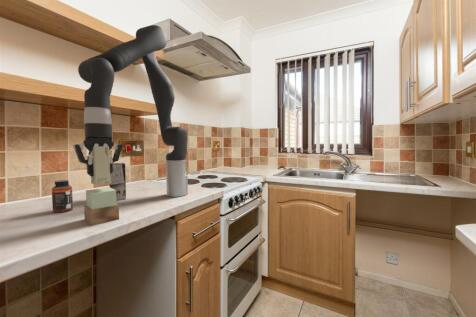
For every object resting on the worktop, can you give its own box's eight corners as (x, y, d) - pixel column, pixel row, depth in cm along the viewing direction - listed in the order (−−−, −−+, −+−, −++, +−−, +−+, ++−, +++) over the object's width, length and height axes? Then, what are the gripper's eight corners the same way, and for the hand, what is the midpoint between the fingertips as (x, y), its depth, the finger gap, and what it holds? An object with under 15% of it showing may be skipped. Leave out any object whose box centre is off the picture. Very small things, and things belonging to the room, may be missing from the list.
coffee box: (126, 199, 100) (125, 163, 99) (110, 201, 96) (108, 164, 95) (124, 195, 107) (123, 162, 106) (109, 196, 104) (108, 162, 103)
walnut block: (111, 214, 79) (110, 200, 78) (119, 219, 73) (118, 205, 73) (84, 220, 73) (83, 205, 73) (91, 226, 67) (90, 210, 67)
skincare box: (111, 184, 72) (109, 146, 71) (95, 185, 69) (94, 146, 68) (105, 181, 76) (104, 146, 76) (90, 183, 73) (89, 146, 73)
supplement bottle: (74, 210, 83) (73, 180, 82) (54, 214, 78) (52, 182, 78) (71, 207, 87) (69, 178, 86) (51, 210, 82) (49, 180, 81)
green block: (110, 201, 78) (109, 187, 77) (116, 205, 73) (116, 190, 72) (86, 205, 73) (85, 190, 72) (91, 209, 68) (91, 193, 67)
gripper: (118, 125, 79) (119, 172, 80) (68, 122, 69) (71, 176, 70) (126, 123, 74) (127, 174, 75) (73, 120, 64) (76, 179, 65)
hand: (100, 175), depth 72 cm, fingers closed on skincare box, 4 cm apart
